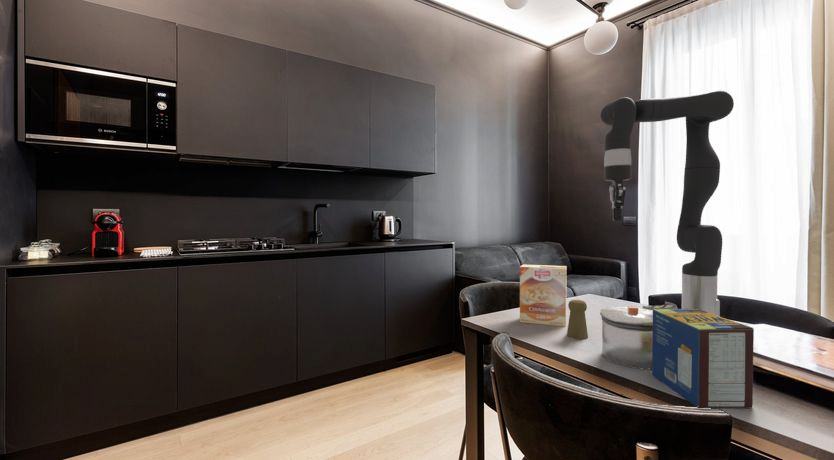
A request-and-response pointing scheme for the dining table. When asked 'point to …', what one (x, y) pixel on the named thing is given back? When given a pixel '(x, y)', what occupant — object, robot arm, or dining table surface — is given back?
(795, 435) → the dining table surface
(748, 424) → the dining table surface
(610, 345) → the cooker pot
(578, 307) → the cork
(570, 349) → the dining table surface
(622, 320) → the cooker lid
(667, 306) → the food container
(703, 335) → the protein box
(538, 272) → the coffeecake box
